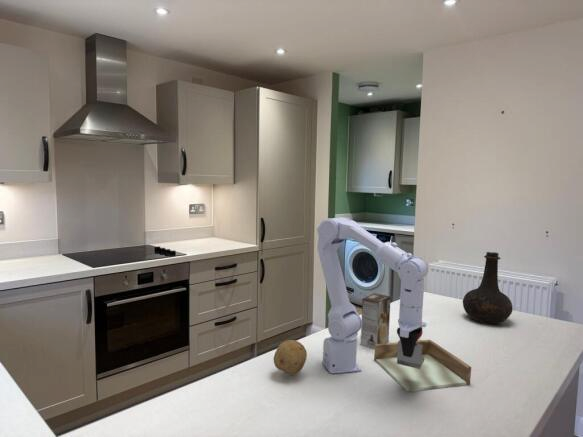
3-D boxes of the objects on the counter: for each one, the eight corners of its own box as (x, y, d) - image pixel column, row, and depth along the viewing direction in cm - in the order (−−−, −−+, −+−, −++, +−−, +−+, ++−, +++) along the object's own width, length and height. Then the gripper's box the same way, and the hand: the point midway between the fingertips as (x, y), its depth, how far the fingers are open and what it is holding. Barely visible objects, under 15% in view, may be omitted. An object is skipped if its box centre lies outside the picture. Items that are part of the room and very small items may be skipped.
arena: (407, 392, 105) (408, 373, 104) (374, 359, 123) (374, 344, 123) (470, 384, 110) (471, 367, 109) (429, 354, 128) (430, 339, 128)
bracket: (420, 369, 104) (421, 346, 103) (396, 363, 106) (398, 341, 106) (424, 360, 109) (425, 339, 108) (401, 355, 112) (403, 334, 111)
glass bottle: (452, 314, 169) (457, 249, 166) (487, 311, 174) (491, 248, 172) (484, 330, 152) (490, 257, 149) (521, 326, 157) (527, 255, 155)
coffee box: (372, 336, 142) (374, 292, 140) (389, 341, 138) (391, 296, 136) (359, 344, 134) (361, 298, 133) (377, 350, 131) (379, 302, 129)
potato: (277, 384, 107) (278, 348, 106) (270, 369, 115) (271, 335, 114) (309, 381, 109) (311, 345, 108) (300, 366, 118) (301, 333, 117)
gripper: (422, 315, 96) (418, 369, 97) (431, 300, 109) (428, 348, 110) (392, 310, 99) (389, 362, 100) (405, 295, 112) (402, 342, 113)
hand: (408, 354), depth 105 cm, fingers closed on bracket
